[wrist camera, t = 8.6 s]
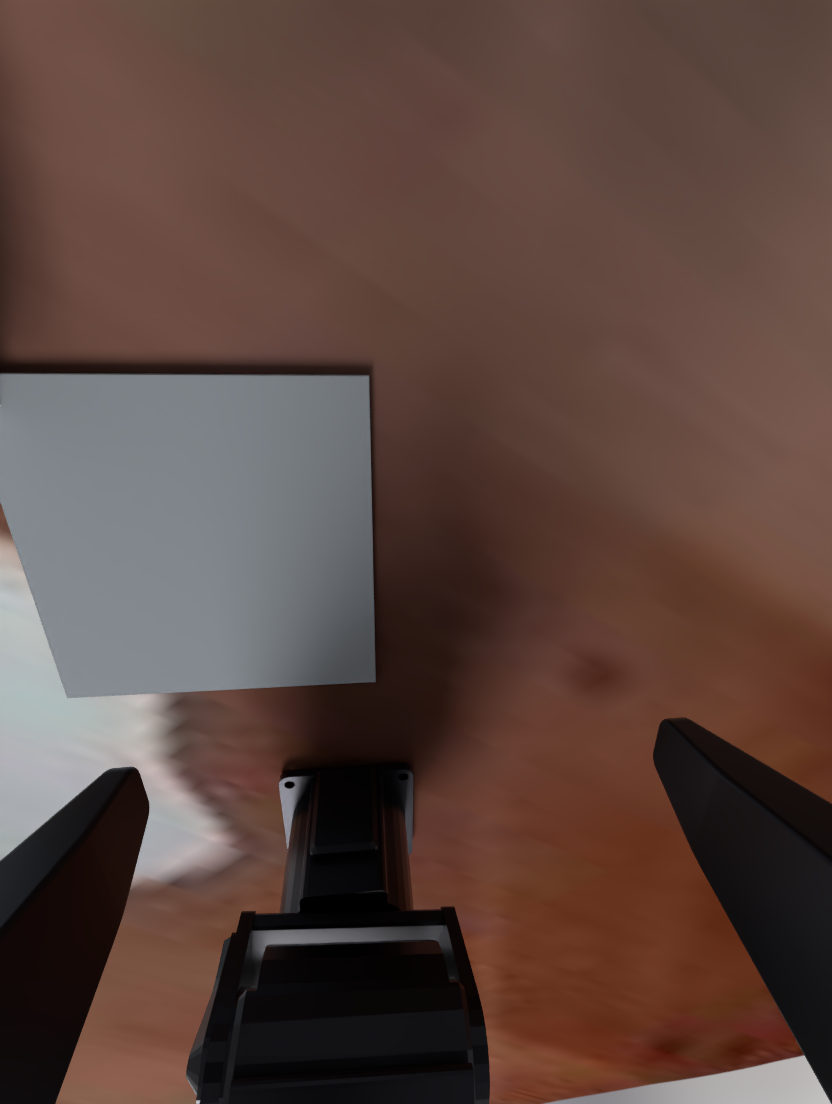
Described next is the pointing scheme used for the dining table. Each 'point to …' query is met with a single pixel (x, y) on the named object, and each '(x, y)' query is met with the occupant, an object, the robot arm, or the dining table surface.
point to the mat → (193, 527)
